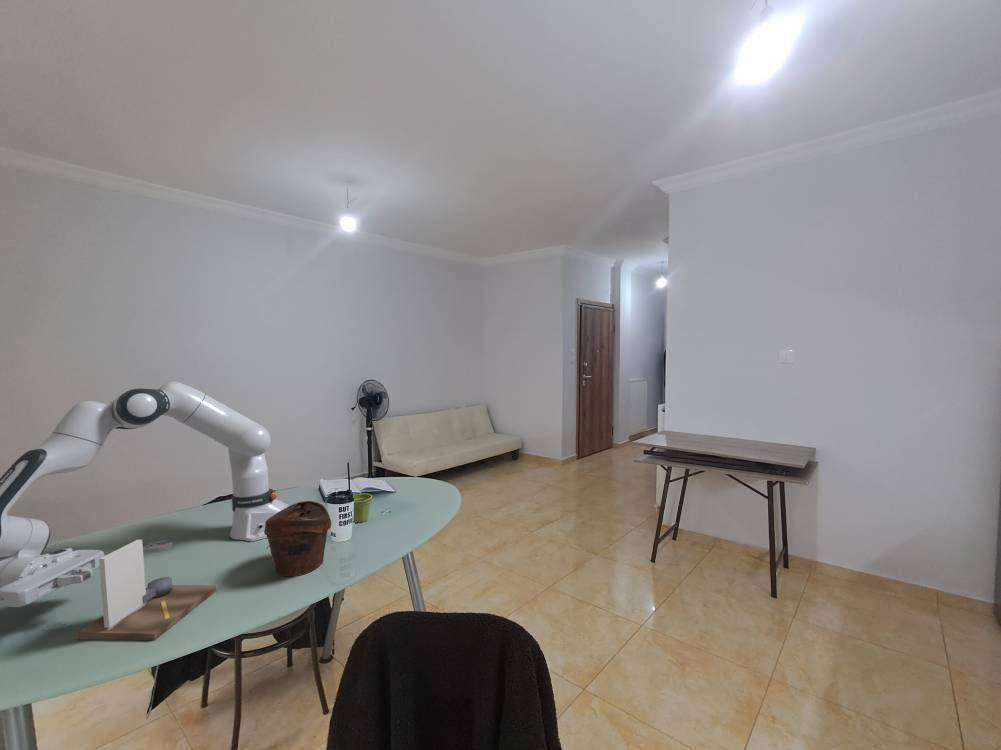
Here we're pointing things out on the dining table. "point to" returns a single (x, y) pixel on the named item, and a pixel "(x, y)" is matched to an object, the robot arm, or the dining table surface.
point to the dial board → (152, 615)
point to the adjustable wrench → (157, 546)
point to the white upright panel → (127, 583)
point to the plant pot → (361, 507)
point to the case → (298, 537)
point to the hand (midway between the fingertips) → (87, 576)
